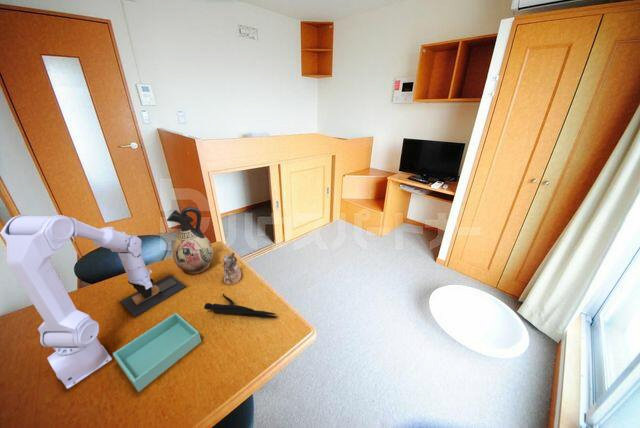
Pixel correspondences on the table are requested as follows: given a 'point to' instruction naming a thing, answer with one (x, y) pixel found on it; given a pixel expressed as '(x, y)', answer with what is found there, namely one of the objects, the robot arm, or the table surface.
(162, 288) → the spatula
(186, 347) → the bin
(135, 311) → the tray
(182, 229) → the ceramic jug
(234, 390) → the table surface
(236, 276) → the figurine
